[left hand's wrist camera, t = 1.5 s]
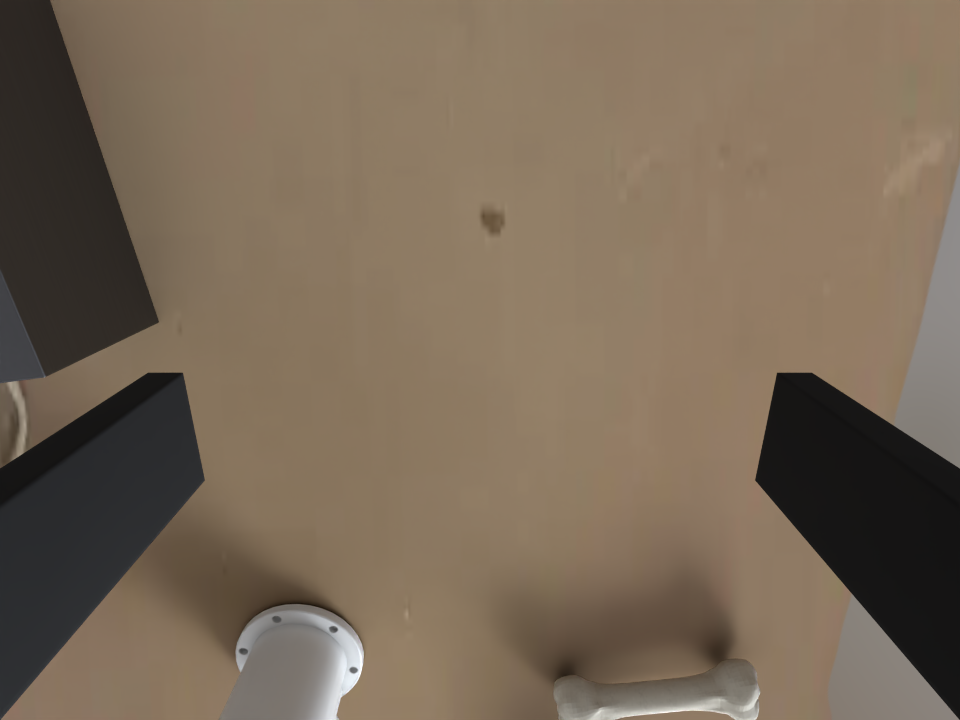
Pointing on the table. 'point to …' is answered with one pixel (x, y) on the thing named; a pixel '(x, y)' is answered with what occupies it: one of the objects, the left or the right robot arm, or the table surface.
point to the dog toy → (663, 695)
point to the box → (56, 212)
